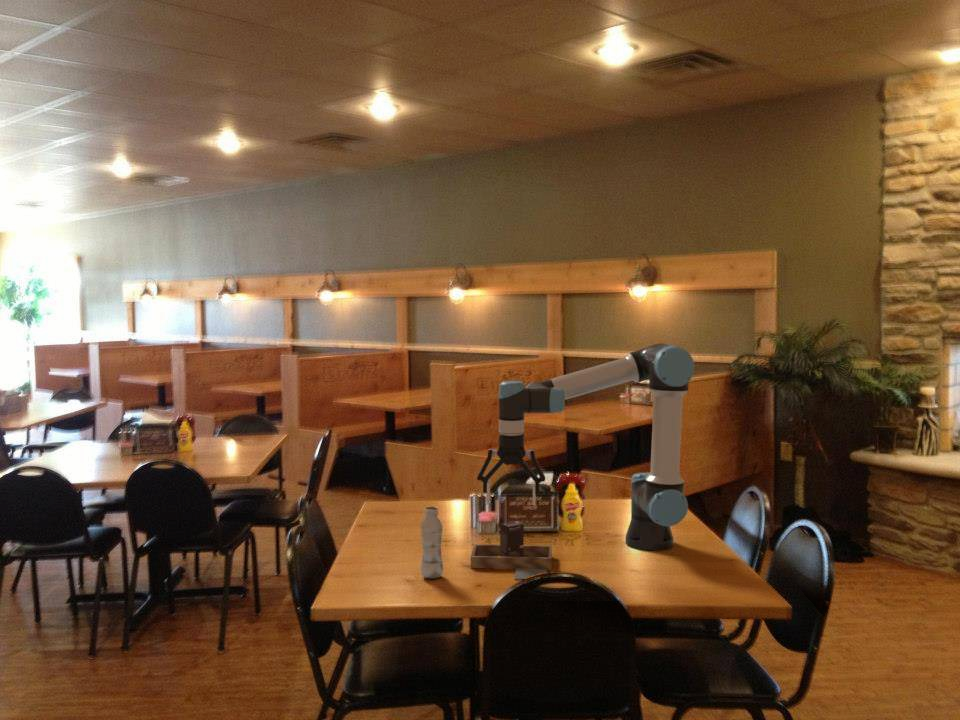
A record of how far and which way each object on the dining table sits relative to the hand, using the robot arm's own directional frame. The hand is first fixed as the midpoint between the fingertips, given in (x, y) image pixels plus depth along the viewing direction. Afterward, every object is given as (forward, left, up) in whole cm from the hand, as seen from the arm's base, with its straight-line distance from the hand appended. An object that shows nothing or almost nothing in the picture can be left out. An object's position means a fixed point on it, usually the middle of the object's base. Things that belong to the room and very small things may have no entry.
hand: (511, 504), depth 259 cm
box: (0, 0, -18) cm, 18 cm away
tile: (-6, +11, -18) cm, 22 cm away
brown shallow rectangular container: (0, 0, -18) cm, 18 cm away
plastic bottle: (+22, +15, -18) cm, 32 cm away
